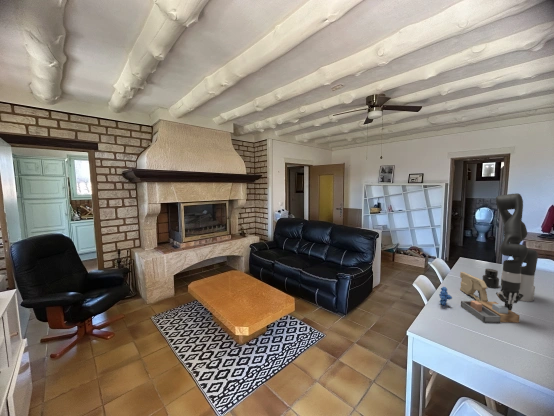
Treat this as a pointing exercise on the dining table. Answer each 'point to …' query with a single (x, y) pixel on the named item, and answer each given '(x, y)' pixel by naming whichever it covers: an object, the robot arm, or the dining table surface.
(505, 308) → the pale blue-gray cube
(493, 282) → the ink bottle
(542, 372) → the dining table surface
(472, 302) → the cube terracotta
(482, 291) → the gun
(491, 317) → the tray
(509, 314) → the board
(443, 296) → the grapes
